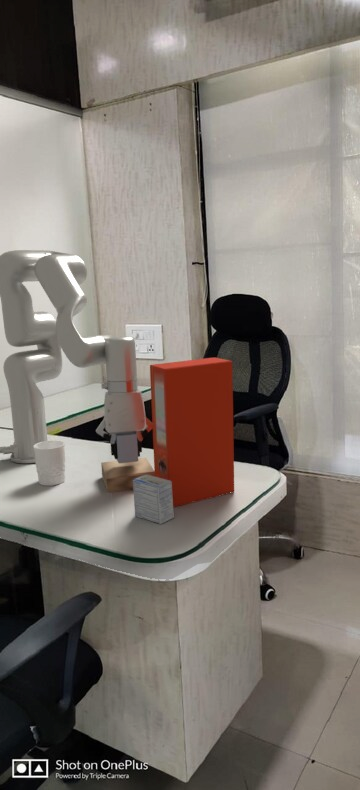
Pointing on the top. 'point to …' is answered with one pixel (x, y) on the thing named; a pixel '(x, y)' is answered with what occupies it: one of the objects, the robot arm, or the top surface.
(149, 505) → the medicine box
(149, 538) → the top surface
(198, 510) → the top surface
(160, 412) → the file binder
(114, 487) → the pedestal
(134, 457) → the block
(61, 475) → the white cup
